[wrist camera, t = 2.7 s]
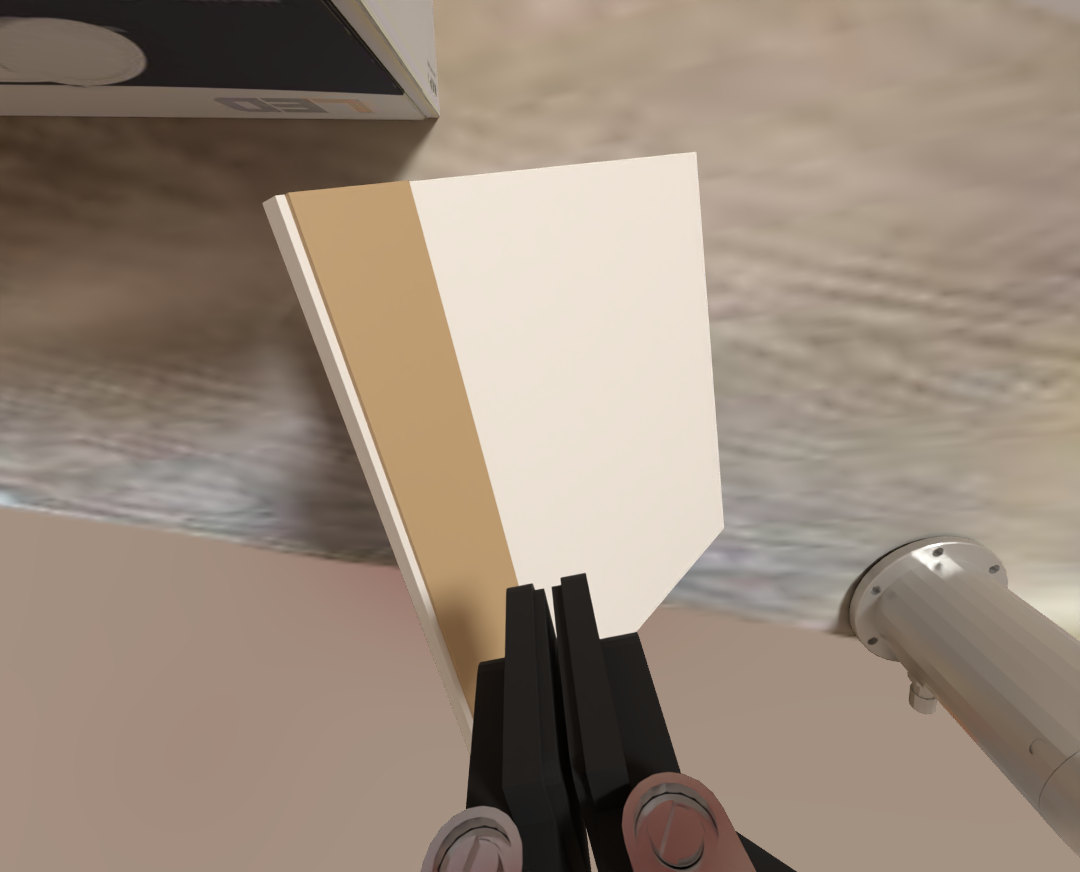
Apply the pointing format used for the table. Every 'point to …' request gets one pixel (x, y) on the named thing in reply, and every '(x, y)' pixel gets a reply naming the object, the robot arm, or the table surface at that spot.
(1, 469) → the table surface
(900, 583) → the robot arm
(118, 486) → the table surface
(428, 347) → the lid
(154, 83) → the packaging
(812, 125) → the table surface
